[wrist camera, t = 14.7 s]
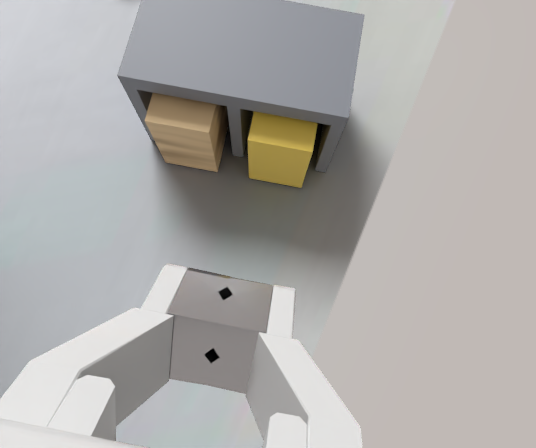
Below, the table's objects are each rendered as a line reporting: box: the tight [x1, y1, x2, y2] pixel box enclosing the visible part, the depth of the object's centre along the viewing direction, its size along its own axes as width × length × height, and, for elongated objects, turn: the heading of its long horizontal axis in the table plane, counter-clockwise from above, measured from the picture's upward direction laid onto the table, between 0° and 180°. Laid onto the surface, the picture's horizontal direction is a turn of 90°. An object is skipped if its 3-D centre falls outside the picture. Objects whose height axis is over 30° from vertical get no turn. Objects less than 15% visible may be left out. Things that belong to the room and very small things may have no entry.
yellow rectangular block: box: [248, 111, 318, 188], centre depth 37 cm, size 8×5×8 cm, turn 169°
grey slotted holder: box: [117, 0, 364, 172], centre depth 37 cm, size 9×17×10 cm, turn 79°
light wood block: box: [145, 93, 229, 172], centre depth 37 cm, size 8×5×8 cm, turn 169°
